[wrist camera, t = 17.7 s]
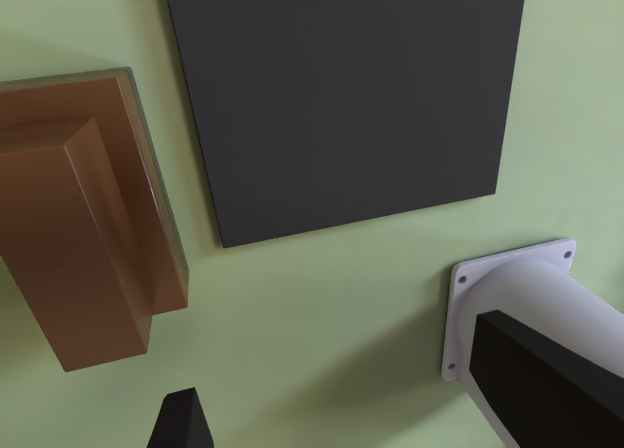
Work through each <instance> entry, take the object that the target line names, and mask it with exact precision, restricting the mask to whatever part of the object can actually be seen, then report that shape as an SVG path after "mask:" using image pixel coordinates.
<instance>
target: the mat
mask: <svg viewBox="0 0 624 448" xmlns="http://www.w3.org/2000/svg"><path fill="white" fill-rule="evenodd" d="M167 1H168V5H169V9H170V14H171V18H172V23H173V27H174V31H175V36H176V40H177V45H178V49H179V53H180V58H181V62H182V67H183V71H184V75H185V80H186V84H187V89H188V93H189V97H190V102H191V106H192V111H193V115H194V119H195V124H196V128H197V133H198V137H199V142H200V146H201V150H202V155H203V159H204V164H205V168H206V172H207V177H208V181H209V186H210V190H211V194H212V199H213V203H214V208H215V212H216V216H217V221H218V225H219V230H220V234H221V238H222V243H223V247H224V248H229V247H234V246H239V245H244V244H249V243H254V242H259V241H264V240H269V239H274V238H279V237H284V236H289V235H293V234H298V233H303V232H308V231H313V230H318V229H323V228H328V227H333V226H338V225H343V224H348V223H353V222H358V221H363V220H368V219H373V218H378V217H383V216H388V215H393V214H398V213H403V212H407V211H412V210H417V209H422V208H427V207H432V206H437V205H442V204H447V203H452V202H457V201H462V200H467V199H472V198H477V197H482V196H487V195H492V194H495V191H496V185H497V178H498V171H499V165H500V158H501V151H502V145H503V138H504V132H505V125H506V118H507V112H508V105H509V98H510V92H511V85H512V78H513V72H514V65H515V58H516V52H517V45H518V39H519V32H520V25H521V19H522V12H523V5H524V0H167Z"/></svg>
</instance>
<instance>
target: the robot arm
mask: <svg viewBox="0 0 624 448" xmlns="http://www.w3.org/2000/svg"><path fill="white" fill-rule="evenodd" d="M575 248H576V241H574V240H573V239H571V238H563V239H559V240H555V241H550V242H546V243H542V244H537V245H533V246H529V247H525V248H520V249H516V250H512V251H507V252H503V253H499V254H494V255H490V256H486V257H481V258H477V259H473V260H468V261H464V262H460V263H458V264H456V265H455V266H454V267H453V269H452V273H451V283H450V293H449V302H448V312H447V322H446V331H445V341H444V351H443V360H442V370H441V377H442V378H443V380H444V381H445V382H450V381H454V380H457V379H458V380H459V382H460V383H461V384H462V386H463V387H464V389H465V390H466V391H467V393H468V394H469V396H470V397H471V398H472V400H473V401H474V403H475V404H476V406H477V407H478V408H479V410H480V411H481V413H482V414H483V415H484V417H485V418H486V420H487V421H488V422H489V424H490V425H491V427H492V428H493V429H494V431H495V432H496V434H497V435H498V436H499V438H500V439H501V441H502V442H503V444H504V445H505V446H506V448H624V315H623V314H621V313H620V312H619V311H617V310H616V309H614V308H613V307H612V306H610V305H609V304H607V303H606V302H605V301H603V300H602V299H600V298H599V297H598V296H596V295H595V294H593V293H592V292H591V291H589V290H588V289H586V288H585V287H584V286H582V285H581V284H579V283H578V282H576V281H575V280H574V279H572V278H571V277H569V276H568V273H569V270H570V266H571V262H572V259H573V255H574V252H575ZM460 277H461V279H459V278H460ZM147 448H214V444H213V439H212V436H211V433H210V430H209V428H208V425H207V422H206V419H205V416H204V413H203V410H202V407H201V404H200V401H199V398H198V395H197V392H196V389H195V387H193V388H189V389H185V390H181V391H177V392H174V393H170V394H167V395H166V397H165V398H164V400H163V403H162V406H161V409H160V412H159V415H158V418H157V421H156V424H155V426H154V429H153V432H152V435H151V437H150V440H149V443H148V445H147Z"/></svg>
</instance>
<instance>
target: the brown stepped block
mask: <svg viewBox="0 0 624 448" xmlns="http://www.w3.org/2000/svg"><path fill="white" fill-rule="evenodd" d="M0 255H1V257H2V258H3V260H4V262H5V264H6V266H7V267H8V269H9V271H10V273H11V275H12V277H13V278H14V280H15V282H16V284H17V286H18V287H19V289H20V291H21V293H22V295H23V296H24V298H25V300H26V302H27V304H28V306H29V307H30V309H31V311H32V313H33V315H34V316H35V318H36V320H37V322H38V324H39V325H40V327H41V329H42V331H43V333H44V335H45V336H46V338H47V340H48V342H49V344H50V345H51V347H52V349H53V351H54V353H55V354H56V356H57V358H58V360H59V362H60V364H61V365H62V367H63V369H64V371H65V372H70V371H74V370H78V369H82V368H86V367H91V366H95V365H99V364H103V363H107V362H111V361H116V360H120V359H124V358H128V357H132V356H137V355H141V354H145V353H147V350H148V343H149V336H150V329H151V322H152V316H153V315H156V314H160V313H164V312H169V311H173V310H178V309H182V308H186V307H188V281H189V268H188V265H187V261H186V258H185V254H184V251H183V247H182V244H181V240H180V237H179V233H178V230H177V226H176V223H175V219H174V216H173V212H172V209H171V205H170V202H169V198H168V195H167V191H166V188H165V184H164V181H163V177H162V174H161V170H160V167H159V163H158V160H157V156H156V153H155V149H154V146H153V142H152V139H151V135H150V132H149V128H148V125H147V121H146V118H145V114H144V111H143V107H142V104H141V100H140V97H139V93H138V90H137V86H136V83H135V79H134V76H133V72H132V69H131V68H130V67H124V68H116V69H107V70H99V71H90V72H82V73H73V74H65V75H56V76H48V77H40V78H31V79H23V80H14V81H6V82H0Z"/></svg>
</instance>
